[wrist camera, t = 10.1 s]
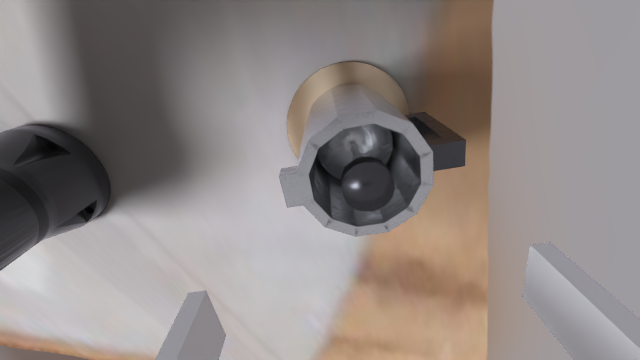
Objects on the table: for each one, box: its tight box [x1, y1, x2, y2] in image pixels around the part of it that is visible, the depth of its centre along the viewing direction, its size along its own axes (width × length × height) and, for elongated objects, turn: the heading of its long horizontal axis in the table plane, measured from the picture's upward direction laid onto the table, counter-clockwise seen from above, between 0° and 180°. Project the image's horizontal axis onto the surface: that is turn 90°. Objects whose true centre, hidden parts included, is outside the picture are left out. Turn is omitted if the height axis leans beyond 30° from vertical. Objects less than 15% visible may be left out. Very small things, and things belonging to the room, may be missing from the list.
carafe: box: [279, 84, 466, 237], centre depth 32 cm, size 16×11×16 cm
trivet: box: [287, 62, 410, 159], centre depth 39 cm, size 16×16×1 cm
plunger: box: [318, 124, 395, 212], centre depth 28 cm, size 8×8×11 cm
